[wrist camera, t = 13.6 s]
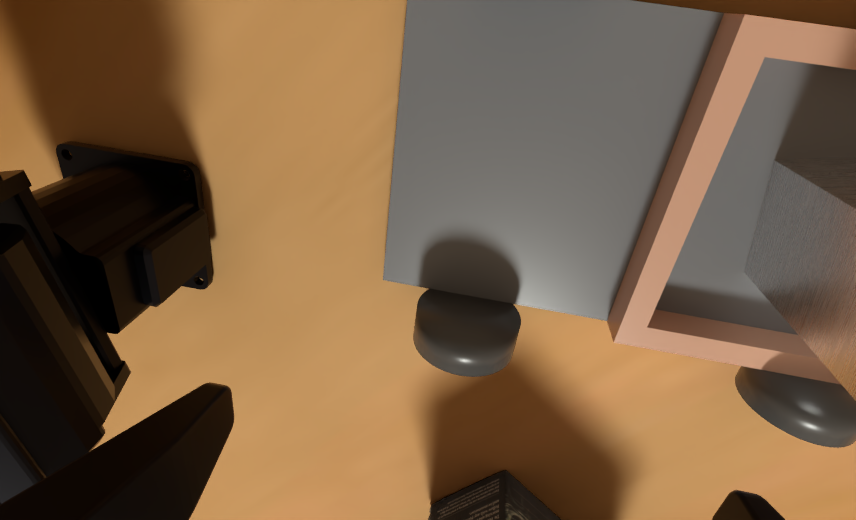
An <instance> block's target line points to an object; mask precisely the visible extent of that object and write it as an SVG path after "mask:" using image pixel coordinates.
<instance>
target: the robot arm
mask: <svg viewBox="0 0 856 520" xmlns="http://www.w3.org/2000/svg"><path fill="white" fill-rule="evenodd" d="M69 151H70V152H71V154H72V156H71V155H70V153H69ZM56 153H57V157H58V161H59V164H60V168H61V172H62V175H63V179H62V180H60V181H57V182H55V183H52V184H50V185H47V186H45V187H42V188H40V189H37V190H35V191H32V192H31V190H30V188H29V187H30V186H32V185H31V183H30V181H29V179H28V177H27V175H26V174H25V172H24V170H15V171H4V172H0V520H189V518H190V517H191V515H192V513H193V511H194V509H195V507H196V505H197V503H198V501H199V499H200V497H201V495H202V493H203V491H204V488H205V486H206V484H207V482H208V480H209V478H210V475H211V473H212V471H213V469H214V467H215V465H216V462H217V460H218V458H219V456H220V454H221V452H222V449H223V447H224V445H225V443H226V441H227V439H228V436H229V434H230V432H231V430H232V427H233V423H234V410H233V401H232V393H231V389H230V388H229V387H228V386H226V385H221V384H216V383H206V384H203V385H202V386H200V387H198V388H197V389H195V390H193V391H191V392H190V393H188V394H186V395H185V396H183V397H181V398H180V399H178V400H176V401H175V402H173V403H171V404H169V405H168V406H166V407H164V408H163V409H161V410H159V411H158V412H156V413H154V414H153V415H151V416H149V417H147V418H146V419H144V420H142V421H141V422H139V423H137V424H136V425H134V426H132V427H131V428H129V429H127V430H125V431H124V432H122V433H120V434H119V435H117V436H115V437H114V438H112V439H110V440H109V441H107V442H105V443H103V444H102V445H100V446H98V447H97V448H95V449H93V448H94V447H95V446H96V445H97V444H98V443H99V442H100V440H101V439H102V437H103V436H104V434H105V429H104V427H103V426H102V425H103V423H104V422H105V420H106V418H107V416H108V414H109V412H110V410H111V408H112V407H113V405H114V403H115V401H116V399H117V397H118V395H119V394H120V392H121V390H122V388H123V386H124V384H125V382H126V381H127V379H128V377H129V375H130V373H131V371H130V370H129V368H128V366H127V364H126V362H125V361H122V360H121V359H120V357H119V355H118V353H117V351H116V349H115V347H114V345H113V344H112V342H111V340H110V338H109V336H108V334H107V333H112V334H118V333H119V332H120V331H121V330H123V329H124V328H125V327H126V326H127V325H128V324H130V323H131V322H132V321H133V320H134V319H135V318H137V317H138V316H139V315H140V314H141V313H142V312H144V311H145V310H146V309H147V308H148V307H149V306H154V307H157V306H159V305H160V304H161V303H163V302H164V301H165V300H166V299H167V298H168V297H169V296H171V295H172V294H173V293H174V292H175V291H176V290H177V289H179V288H180V287H181V286H185V287H190V288H196V289H205V288H207V287H208V286H209V285H210V284H211V283H212V281H213V277H212V269H211V259H212V255H211V246H210V238H209V230H208V221H207V214H206V212H205V210H204V203H203V194H202V186H201V178H200V172H199V169H198V168H197V167H196V165H194V164H193V163H191V162H189V161H183V160H177V159H172V158H166V157H160V156H154V155H148V154H142V153H136V152H130V151H124V150H119V149H113V148H107V147H101V146H95V145H89V144H83V143H77V142H71V141H70V142H65V143H62V144H59V145H58V146H57V148H56ZM184 170H186V171H187V172H188V173H189V176H190V177H187V176H186V175H185V173H184ZM199 277H201V278H202V279H203V281H202V280H201V279H200V278H199ZM92 449H93V450H92ZM91 450H92V451H91ZM712 520H785V519H784V518H783V517H782V516H781V515H780V514H779V513H778V512H777V511H776V510H775V509H774V508H773V507H772V506H771V505H770V504H769V503H768V502H767V501H766V500H765V499H764V498H763V497H761V496H759V495H757V494H753V493H748V492H744V491H739V490H734V491H732V492H730V493H729V495H728V496H727V497H726V499H725V500H724V502H723V503H722V505H721V506H720V507H719V509H718V510H717V512H716V513H715V515H714V516H713V519H712Z"/></svg>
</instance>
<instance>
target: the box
mask: <svg viewBox="0 0 856 520" xmlns="http://www.w3.org/2000/svg"><path fill="white" fill-rule="evenodd" d="M428 520H561V519H560V518H559V517H557V516H556V515H555V514H554V513H553V512H552V511H551V510H550V509H549V508H547V507H546V506H545V505H544V504H543V503H542V502H541V501H540V500H539V499H537V498H536V497H535V496H534V495H533V494H532V493H531V492H530V491H528V490H527V489H526V488H525V487H524V486H523V485H522V484H521V483H520V482H519V481H517V480H516V479H515V478H514V477H513V476H512V475H511V474H510V473H508V472H507V471H502V472H499V473H497V474H495V475H493V476H490V477H488V478H486V479H484V480H482V481H479V482H477V483H475V484H473V485H471V486H469V487H467V488H465V489H463V490H460V491H458V492H457V493H454V494H453V495H450V496H448V497H446V498H443V499H442V500H440V501H438V502H436V503H434V504H432V505H431V507H430V516H429V518H428Z"/></svg>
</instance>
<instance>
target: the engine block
mask: <svg viewBox="0 0 856 520" xmlns="http://www.w3.org/2000/svg"><path fill="white" fill-rule="evenodd" d="M744 273H745V274H746V275H747V276H748V277H749V278H750V280H751V281H752V282H753V283H754V284H755V285H756V287H757V288H758V289H759V290H760V291H761V292H762V293H763V295H764V296H765V297H766V298H767V299H768V300H769V301H770V303H771V304H772V305H773V306H774V307H775V308H776V310H777V311H778V312H779V313H780V314H781V315H782V316H783V318H784V319H785V320H786V321H787V322H788V323H789V325H790V326H791V327H792V328H793V329H794V330H795V331H796V333H797V334H798V335H799V336H800V337H801V338H802V340H803V341H804V342H805V343H806V344H807V345H808V346H809V348H810V349H811V350H812V351H813V352H814V353H815V355H816V356H817V357H818V358H819V359H820V360H821V361H822V363H823V364H824V365H825V366H826V367H827V368H828V369H829V371H830V372H831V373H832V374H833V375H834V376H835V378H836V379H837V380H838V381H839V382H840V383H841V384H842V386H843V387H844V388H845V389H846V390H847V391H848V393H849V394H850V395H851V396H852V397H853V398H854V399H855V401H856V158H833V159H797V160H774V163H773V166H772V170H771V174H770V177H769V181H768V185H767V188H766V192H765V196H764V199H763V203H762V207H761V210H760V214H759V218H758V221H757V225H756V229H755V232H754V236H753V240H752V243H751V247H750V251H749V254H748V258H747V262H746V265H745V269H744Z"/></svg>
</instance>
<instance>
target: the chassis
mask: <svg viewBox="0 0 856 520" xmlns="http://www.w3.org/2000/svg"><path fill="white" fill-rule="evenodd" d="M833 158H856V29H850V28H842V27H835V26H828V25H820V24H813V23H805V22H798V21H791V20H783V19H776V18H769V17H761V16H754V15H747V14H733V13H721V12H713V11H706V10H699V9H691V8H684V7H677V6H669V5H662V4H655V3H647V2H640V1H633V0H407V10H406V22H405V33H404V45H403V56H402V68H401V79H400V91H399V102H398V114H397V125H396V137H395V148H394V160H393V171H392V183H391V194H390V206H389V217H388V229H387V240H386V252H385V263H384V275H383V280H386V281H391V282H397V283H402V284H408V285H413V286H419V287H424V288H430V289H429V290H427V291H426V292H424V293H423V294H422V295H421V297H420V298H419V301H418V304H417V311H416V319H415V326H414V334H413V340H414V344H415V347H416V349H417V350H418V352H419V353H420V355H421V356H422V357H423V358H424V359H425V360H426V361H428V362H429V363H430V364H432V365H433V366H435V367H437V368H439V369H441V370H443V371H446V372H449V373H452V374H456V375H461V376H470V377H477V376H486V375H490V374H493V373H496V372H498V371H500V370H502V369H503V368H504V367H505V366H507V364H508V363H509V362H510V360H511V358H512V355H513V351H514V348H515V344H516V340H517V336H518V333H519V329H520V325H521V318H520V315H519V312H518V311H517V309H516V308H515V306H514V305H513V304H517V305H523V306H528V307H534V308H539V309H545V310H550V311H556V312H561V313H567V314H572V315H578V316H583V317H589V318H594V319H600V320H605V321H607V322H608V325H609V329H610V332H611V335H612V338H613V342H614V343H620V344H625V345H631V346H636V347H641V348H647V349H652V350H658V351H663V352H668V353H674V354H679V355H685V356H690V357H695V358H701V359H706V360H712V361H717V362H722V363H728V364H733V365H739V366H741V368H740V369H739V371H738V373H737V375H736V377H735V384H736V387H737V390H738V392H739V393H740V395H741V396H742V398H743V399H744V400H745V402H746V403H747V404H748V405H749V406H750V407H751V408H752V409H753V410H754V411H755V412H756V413H758V414H759V415H760V416H761V417H763V418H764V419H765V420H767V421H768V422H770V423H771V424H773V425H774V426H776V427H777V428H779V429H781V430H783V431H785V432H786V433H788V434H790V435H792V436H795V437H797V438H799V439H802V440H804V441H807V442H810V443H813V444H817V445H821V446H826V447H846V446H849V445H851V444H853V443H854V442H855V441H856V401H855V399H854V398H853V397H852V396H851V395H850V394H849V393H848V391H847V390H846V389H845V388H844V387H843V386H842V384H841V383H840V382H839V381H838V380H837V379H836V378H835V376H834V375H833V374H832V373H831V372H830V371H829V369H828V368H827V367H826V366H825V365H824V364H823V363H822V361H821V360H820V359H819V358H818V357H817V356H816V355H815V353H814V352H813V351H812V350H811V349H810V348H809V346H808V345H807V344H806V343H805V342H804V341H803V340H802V338H801V337H800V336H799V335H798V334H797V333H796V331H795V330H794V329H793V328H792V327H791V326H790V325H789V323H788V322H787V321H786V320H785V319H784V318H783V316H782V315H781V314H780V313H779V312H778V311H777V310H776V308H775V307H774V306H773V305H772V304H771V303H770V301H769V300H768V299H767V298H766V297H765V296H764V295H763V293H762V292H761V291H760V290H759V289H758V288H757V287H756V285H755V284H754V283H753V282H752V281H751V280H750V278H749V277H748V276H747V275H746V274H745V273H744V269H745V265H746V262H747V258H748V254H749V251H750V247H751V243H752V240H753V236H754V232H755V229H756V225H757V221H758V218H759V214H760V210H761V207H762V203H763V199H764V196H765V192H766V188H767V185H768V181H769V177H770V174H771V170H772V166H773V163H774V160H797V159H833Z"/></svg>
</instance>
